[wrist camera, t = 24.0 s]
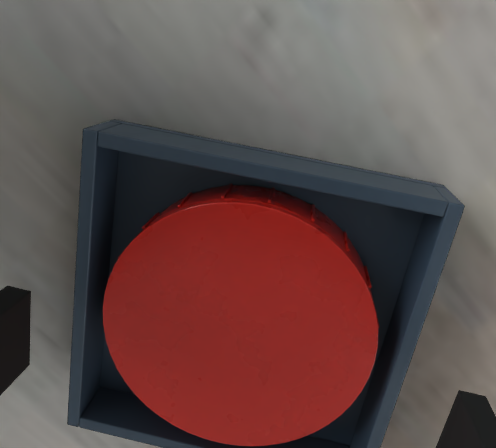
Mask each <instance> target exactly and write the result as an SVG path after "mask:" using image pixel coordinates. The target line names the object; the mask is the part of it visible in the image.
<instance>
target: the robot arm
mask: <svg viewBox="0 0 496 448" xmlns="http://www.w3.org/2000/svg"><path fill="white" fill-rule="evenodd" d="M30 304H31V291H28V290H23V289H19V288H15V287H11V286H6V287H5V288H4V289H2V290H1V291H0V395H1V394H2V393H3V392H4V391H5V390H6V389H7V388H8V387H9V386H10V385H11V384H12V382H13V381H14V380H15V379H16V378H17V377H18V376H19V375H20V374H21V373H22V372H23V371H24V370H25V369H26V368H27V367H28V366H29V361H30ZM436 448H496V416H495V414H494V412H493V410H492V408H491V406H490V404H489V402H488V400H487V398H486V396H482V395H477V394H473V393H469V392H464V391H460V390H459V391H458V394H457V396H456V399H455V401H454V404H453V406H452V409H451V411H450V413H449V416H448V418H447V421H446V423H445V426H444V428H443V431H442V433H441V436H440V438H439V441H438V443H437V446H436Z"/></svg>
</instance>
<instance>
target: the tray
mask: <svg viewBox="0 0 496 448" xmlns="http://www.w3.org/2000/svg"><path fill="white" fill-rule="evenodd" d="M229 184H232V185H250V186H259V187H265V188H269V189H272V187H273V188H275V190H278V191H281V192H284V193H287V194H289V195H292V196H295V197H297V198H299V199H301V200H303V201H305V202H307V203H308V204H310V205H312V204H314V205H315V208H317V209H318V210H319V211H321V212H322V213H324V214H325V215H326V216H328V217H329V218H330V219H331V220H332V221H333V222H334V223H335V224H336V225H337V226H338V227H339V228H340V229H341V230H342V231H343V232H344V231H345V232H346V233H347V237H348V238H349V240H350V241H351V243H352V244H353V246H354V248H355V249H356V251H357V252H358V254H359V256H360V258H361V261H362V263H363V265H364V266H367V270H368V274H369V278H370V282H371V286H372V288H370V289H371V293H372V297H373V301H374V305H375V310H376V314H377V318H378V322H379V328H378V348H377V353H376V359H375V363H374V366H373V369H372V371H371V374H370V377H369V379H368V381H367V383H366V384H365V386H364V388H363V390H362V392H361V393H360V394H359V396H358V397H357V398H356V400H355V401H354V402H353V404H352V405H351V406H350V407H349V408H348V409H347V410H346V411H345V412H344V413H343V414H342V415H341V416H339V417H338V418H337V419H335V420H334V421H333V422H331V423H330V424H329V425H327V426H325V427H323V428H322V429H320V430H318V431H316V432H314V433H312V434H310V435H307V436H305V437H302V438H300V439H296V440H293V441H289V442H286V443H281V444H274V445H268V446H238V445H230V444H224V443H218V442H215V441H211V440H207V439H204V438H201V437H198V436H196V435H193V434H190V433H188V432H186V431H184V430H182V429H180V428H178V427H176V426H174V425H172V424H171V423H169V422H167V421H166V420H164V419H163V418H161V417H160V416H158V415H157V414H156V413H155V412H153V411H152V410H151V409H150V408H148V407H147V406H146V405H145V404H144V403H143V402H142V401H141V400H140V399H139V398H138V397H137V396H136V395H135V394H134V393H133V391H132V390H131V389H130V387H129V386H128V385H127V384H126V382H125V381H124V379H123V378H122V376H121V374H120V373H119V371H118V370H117V368H116V366H115V363H114V361H113V359H112V357H111V355H110V352H109V348H108V345H107V342H106V338H105V332H104V326H103V302H104V294H105V290H106V286H107V282H108V279H109V276H110V274H111V272H112V270H113V267H114V265H115V263H116V262H117V260H118V257H119V256H120V255H121V254H122V252H123V251H124V249H125V248H126V247H127V246H128V245H129V244H130V243H131V241H132V240H133V239H134V238H135V237H136V236H137V235H138V234H139V233H140V232H141V231H142V230H143V229H142V227H143V226H144V225H145V224H146V223H147V222H148V221H149V220H150V219H151V218H152V217H153V216H154V215H155V214H156V213H157V212H159V213H161V212H162V211H163V210H165V209H166V208H167V207H169V206H170V205H172V204H173V203H175V202H177V201H178V200H180V199H182V198H184V197H186V196H187V195H188V194H189V193H190V192H192V193H195V192H199V191H202V190H206V189H209V188H214V187H221V186H227V185H229ZM464 207H465V206H464V205H463V204H462V203H461V202H460V201H459V200H458V199H457V198H456V197H455V196H454V195H453V194H452V193H451V192H450V191H449V190H448V189H447V188H446V187H445V186H444V185H441V184H436V183H431V182H426V181H421V180H416V179H411V178H406V177H401V176H396V175H391V174H386V173H381V172H376V171H371V170H366V169H361V168H356V167H351V166H346V165H341V164H336V163H331V162H326V161H321V160H316V159H311V158H306V157H301V156H296V155H291V154H286V153H281V152H276V151H271V150H266V149H261V148H256V147H250V146H245V145H240V144H235V143H230V142H225V141H220V140H215V139H210V138H205V137H200V136H195V135H190V134H185V133H180V132H175V131H170V130H165V129H160V128H155V127H150V126H145V125H140V124H135V123H130V122H125V121H120V120H115V119H114V120H110V121H107V122H104V123H101V124H97V125H94V126H91V127H87V128H84V129H83V138H82V157H81V176H80V195H79V214H78V233H77V252H76V271H75V290H74V309H73V328H72V347H71V365H70V384H69V403H68V422H67V424H68V425H72V426H76V427H78V426H79V427H81V428H85V429H89V430H93V431H97V432H101V433H105V434H109V435H113V436H117V437H121V438H125V439H130V440H134V441H138V442H142V443H146V444H150V445H154V446H158V447H162V448H380V447H381V444H382V441H383V438H384V435H385V432H386V430H387V427H388V424H389V421H390V418H391V415H392V412H393V410H394V407H395V404H396V401H397V398H398V395H399V393H400V390H401V387H402V384H403V381H404V378H405V375H406V373H407V370H408V367H409V364H410V361H411V358H412V355H413V353H414V350H415V347H416V344H417V341H418V338H419V336H420V333H421V330H422V327H423V324H424V321H425V318H426V316H427V313H428V310H429V307H430V304H431V301H432V298H433V296H434V293H435V290H436V287H437V284H438V281H439V278H440V276H441V273H442V270H443V267H444V264H445V261H446V259H447V256H448V253H449V250H450V247H451V244H452V241H453V239H454V236H455V233H456V230H457V227H458V224H459V221H460V219H461V216H462V213H463V210H464Z"/></svg>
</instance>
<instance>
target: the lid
mask: <svg viewBox="0 0 496 448" xmlns="http://www.w3.org/2000/svg"><path fill="white" fill-rule="evenodd" d="M142 229H143V230H142V231H141V232H140V233H139V234H138V235H137V236H136V237H135V238H134V239H133V240H132V241H131V243H130V244H129V245H128V246H127V247H126V248H125V249H124V251H123V252H122V254H121V255H120V256H119V257H118V260H117V262H116V263H115V265H114V267H113V270H112V272H111V274H110V276H109V279H108V282H107V286H106V290H105V294H104V302H103V326H104V332H105V338H106V342H107V345H108V348H109V352H110V355H111V357H112V359H113V361H114V363H115V366H116V368H117V370H118V371H119V373H120V374H121V376H122V378H123V379H124V381H125V382H126V384H127V385H128V386H129V387H130V389H131V390H132V391H133V393H134V394H135V395H136V396H137V397H138V398H139V399H140V400H141V401H142V402H143V403H144V404H145V405H146V406H147V407H148V408H150V409H151V410H152V411H153V412H155V413H156V414H157V415H158V416H160V417H161V418H163V419H164V420H166V421H167V422H169V423H171V424H172V425H174V426H176V427H178V428H180V429H182V430H184V431H186V432H188V433H190V434H193V435H196V436H198V437H201V438H204V439H207V440H211V441H215V442H218V443H224V444H230V445H238V446H268V445H274V444H281V443H286V442H289V441H293V440H296V439H300V438H302V437H305V436H307V435H310V434H312V433H314V432H316V431H318V430H320V429H322V428H323V427H325V426H327V425H329V424H330V423H331V422H333V421H334V420H335V419H337V418H338V417H339V416H341V415H342V414H343V413H344V412H345V411H346V410H347V409H348V408H349V407H350V406H351V405H352V404H353V402H354V401H355V400H356V398H357V397H358V396H359V394H360V393H361V392H362V390H363V388H364V386H365V384H366V383H367V381H368V379H369V377H370V374H371V371H372V369H373V366H374V363H375V359H376V353H377V348H378V328H379V322H378V318H377V314H376V310H375V305H374V301H373V297H372V293H371V289H370V288H372V286H371V282H370V278H369V274H368V270H367V266H364V265H363V263H362V261H361V258H360V256H359V254H358V252H357V251H356V249H355V248H354V246H353V244H352V243H351V241H350V240H349V238H348V237H347V233H346V232H345V231H344V232H343V231H342V230H341V229H340V228H339V227H338V226H337V225H336V224H335V223H334V222H333V221H332V220H331V219H330V218H329V217H328V216H326V215H325V214H324V213H322V212H321V211H319V210H318V209H317V208H315V205H314V204H312V205H310V204H308V203H307V202H305V201H303V200H301V199H299V198H297V197H295V196H292V195H289V194H287V193H284V192H281V191H278V190H275V188H273V187H272V189H269V188H265V187H259V186H250V185H232V184H229V185H227V186H221V187H214V188H209V189H206V190H202V191H199V192H195V193H192V192H190V193H189V194H188V195H187V196H186V197H184V198H182V199H180V200H178V201H177V202H175V203H173V204H172V205H170V206H169V207H167V208H166V209H165V210H163V211H162V212H161V213H159V212H157V213H156V214H155V215H154V216H153V217H152V218H151V219H150V220H149V221H148V222H147V223H146V224H145V225H144V226H143V227H142Z"/></svg>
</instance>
